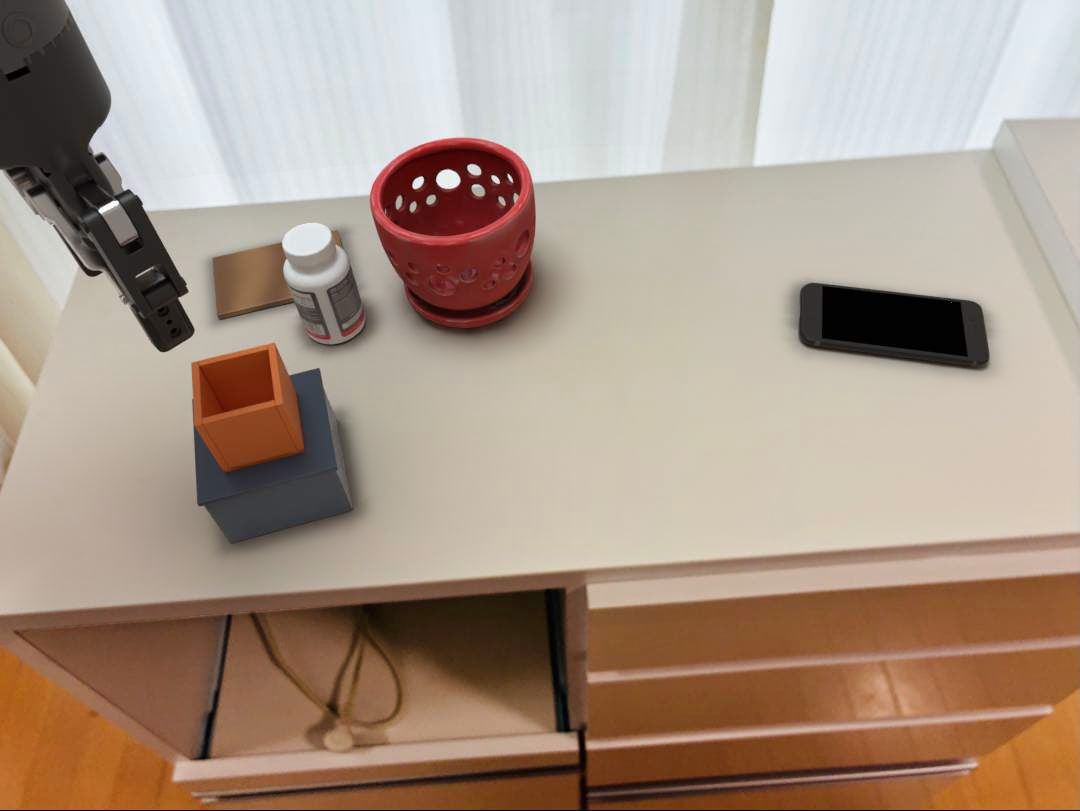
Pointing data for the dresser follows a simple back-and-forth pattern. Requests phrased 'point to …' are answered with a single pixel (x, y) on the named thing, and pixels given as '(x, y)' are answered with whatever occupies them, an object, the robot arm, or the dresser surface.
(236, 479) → the blue tin
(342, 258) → the pill bottle
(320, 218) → the dresser surface
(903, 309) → the smartphone
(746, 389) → the dresser surface
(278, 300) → the cork mat
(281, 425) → the orange tub
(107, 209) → the robot arm
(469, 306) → the flower pot
